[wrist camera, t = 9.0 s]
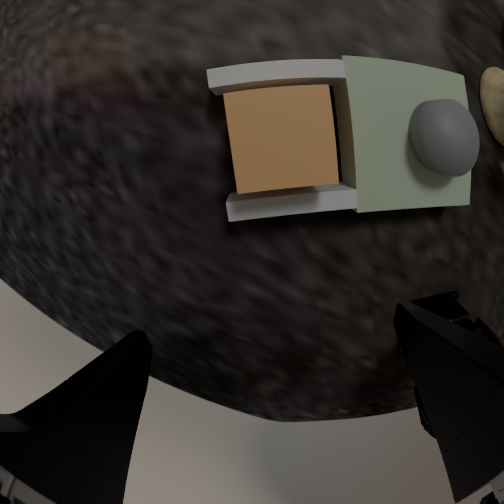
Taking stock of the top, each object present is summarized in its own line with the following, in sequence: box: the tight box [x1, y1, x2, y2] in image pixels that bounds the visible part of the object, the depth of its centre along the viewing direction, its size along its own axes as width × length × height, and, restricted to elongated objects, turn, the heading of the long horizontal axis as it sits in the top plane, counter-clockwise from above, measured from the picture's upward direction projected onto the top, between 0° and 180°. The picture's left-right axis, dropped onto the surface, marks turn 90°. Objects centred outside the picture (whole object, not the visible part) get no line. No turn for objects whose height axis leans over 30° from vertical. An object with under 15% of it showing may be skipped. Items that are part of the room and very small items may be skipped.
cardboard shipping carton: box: [223, 85, 339, 194], centre depth 15 cm, size 5×5×6 cm
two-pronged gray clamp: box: [207, 56, 479, 222], centre depth 15 cm, size 18×10×5 cm, turn 97°
